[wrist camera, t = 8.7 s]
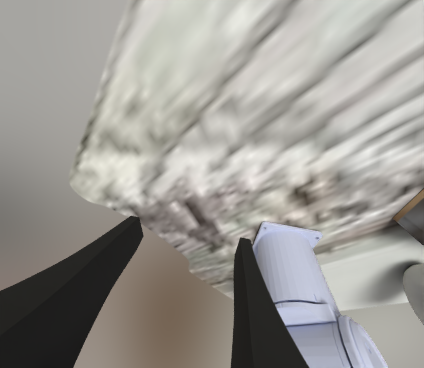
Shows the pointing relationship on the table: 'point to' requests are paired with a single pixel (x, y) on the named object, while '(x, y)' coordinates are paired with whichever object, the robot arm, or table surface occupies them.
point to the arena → (413, 217)
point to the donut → (415, 289)
